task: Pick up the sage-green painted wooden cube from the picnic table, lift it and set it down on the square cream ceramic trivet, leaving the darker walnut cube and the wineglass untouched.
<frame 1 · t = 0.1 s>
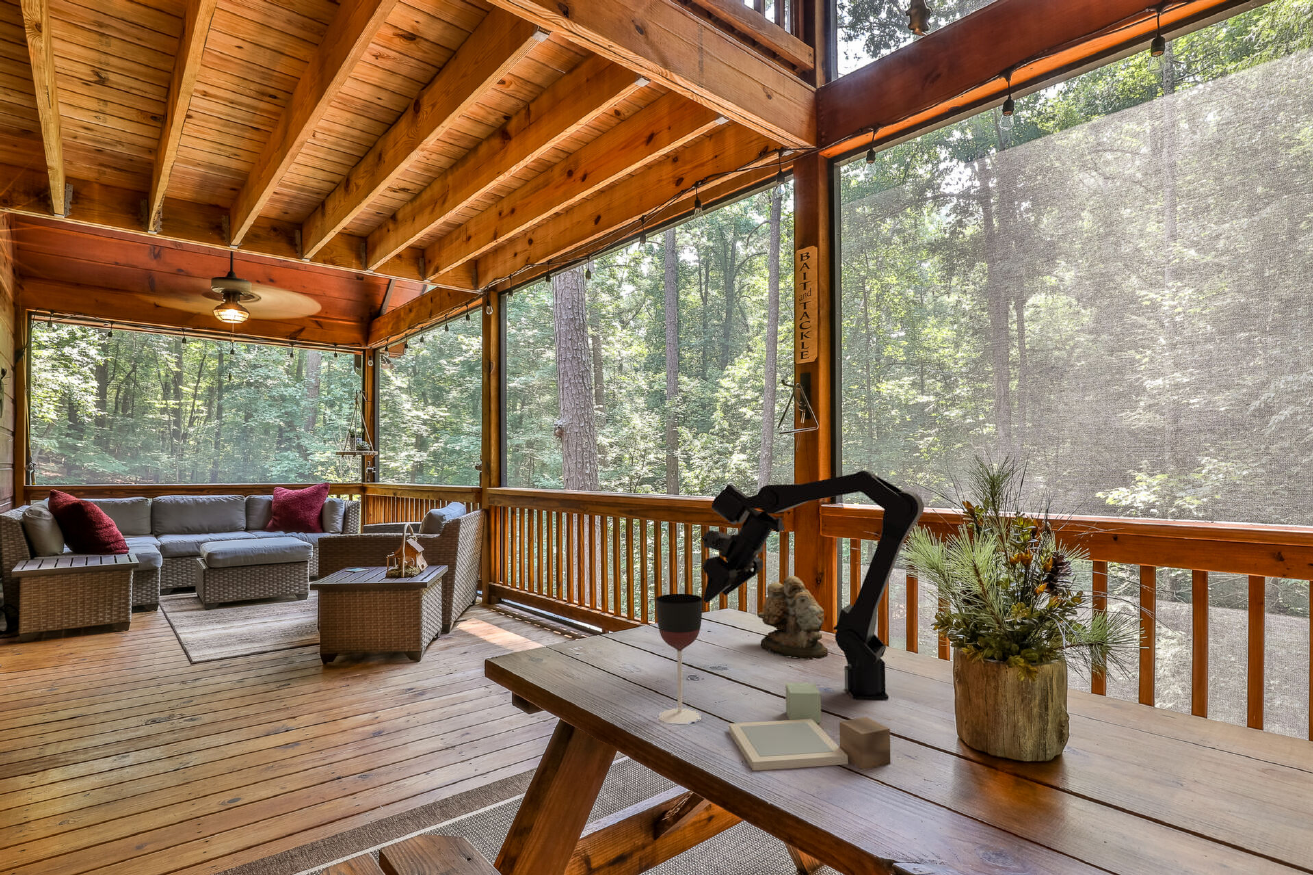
hand: (714, 597, 141), 15 cm above the table, tool tilted 35°, fingers open, 9 cm apart
wineglass: (679, 717, 113), on the table
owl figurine: (791, 650, 154), on the table
sage cube: (803, 718, 113), on the table
trivet: (784, 746, 101), on the table
walnut cube: (864, 760, 97), on the table
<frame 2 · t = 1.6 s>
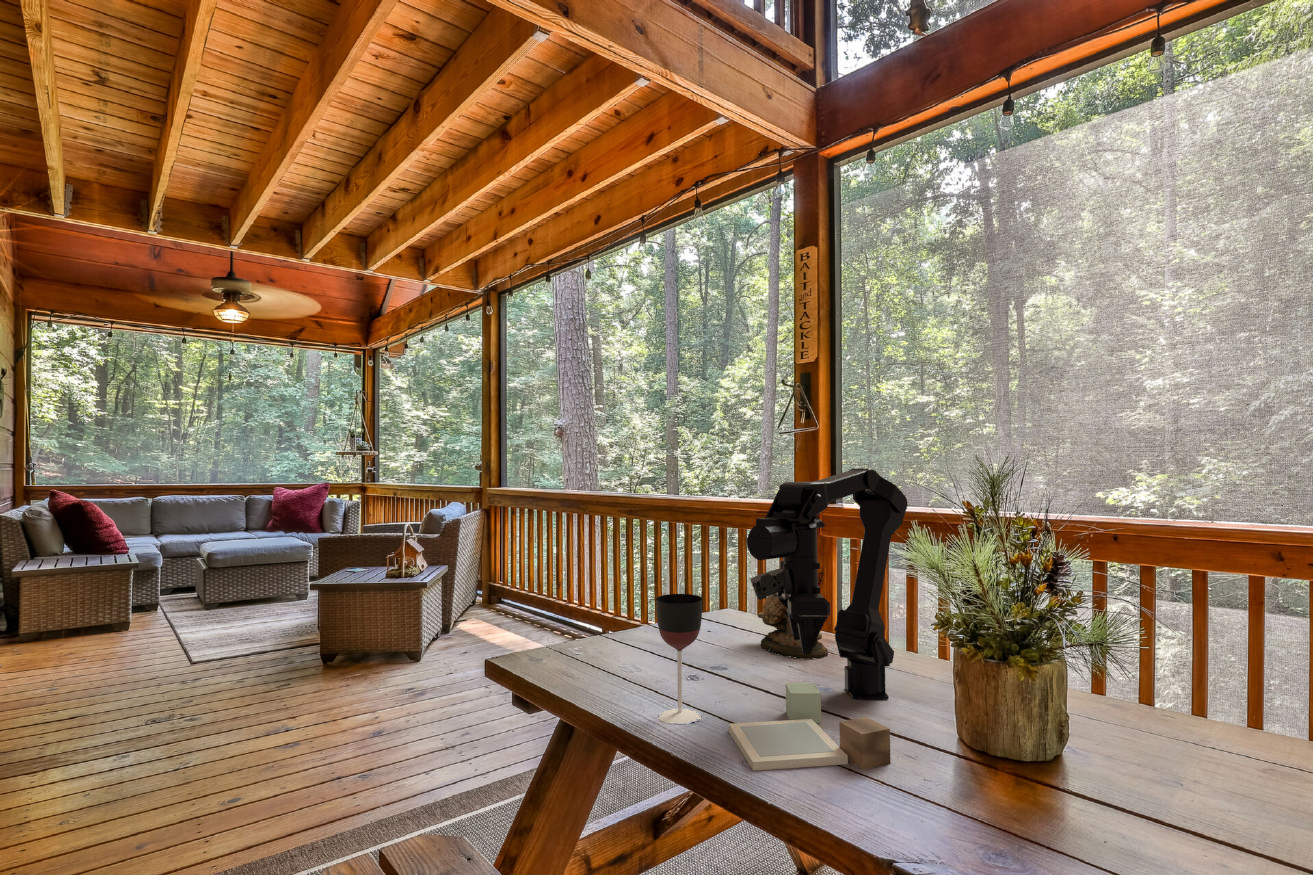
hand: (801, 646, 113), 12 cm above the table, tool pointing down, fingers open, 9 cm apart
nothing on the table moved.
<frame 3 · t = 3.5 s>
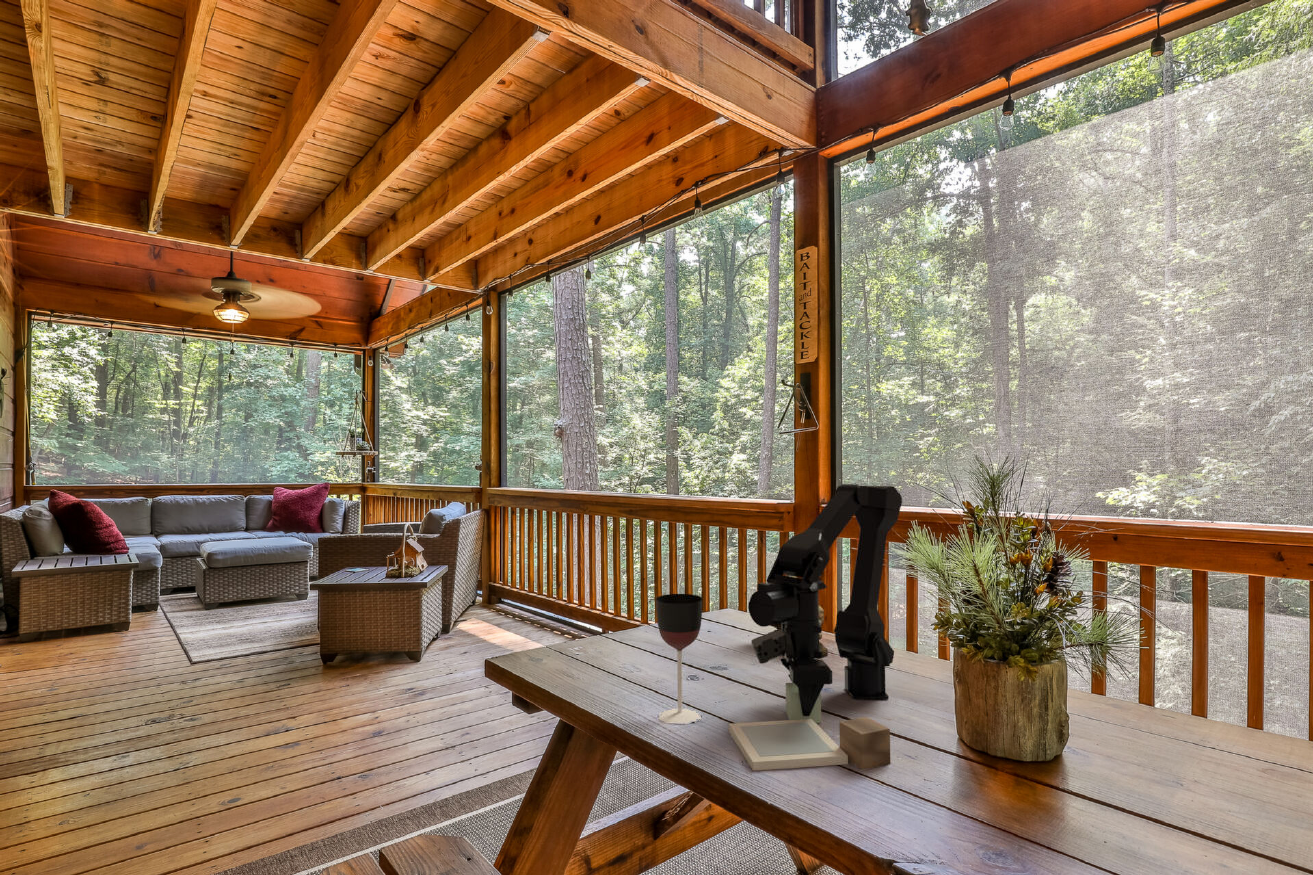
hand: (803, 710, 113), 1 cm above the table, tool pointing down, fingers closed on sage cube, 5 cm apart
sage cube: (803, 717, 113), on the table, touching gripper
everything else where it was.
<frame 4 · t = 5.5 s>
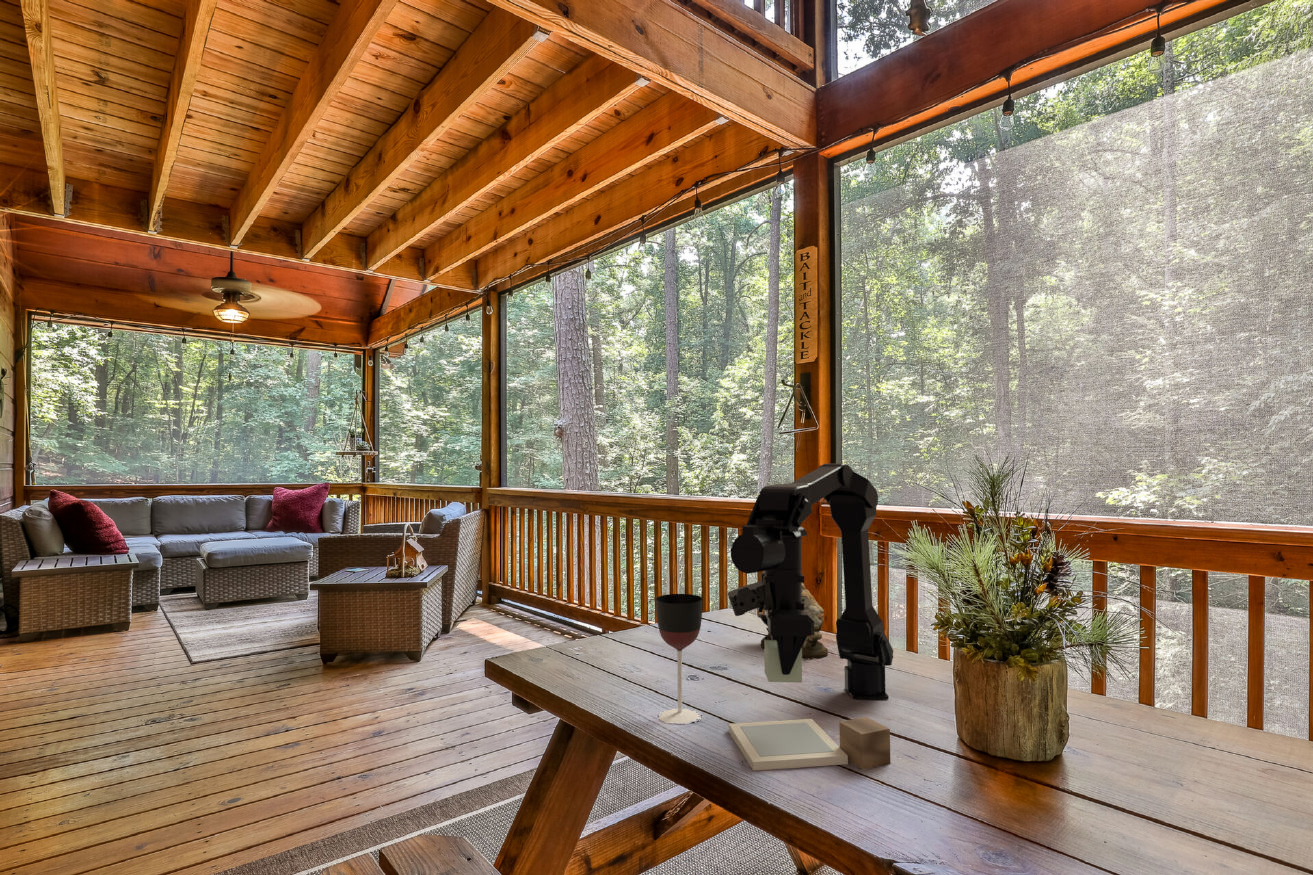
hand: (783, 669, 102), 12 cm above the table, tool pointing down, fingers closed on sage cube, 5 cm apart
sage cube: (782, 677, 102), point 10 cm above the table, touching gripper
everything else where it was.
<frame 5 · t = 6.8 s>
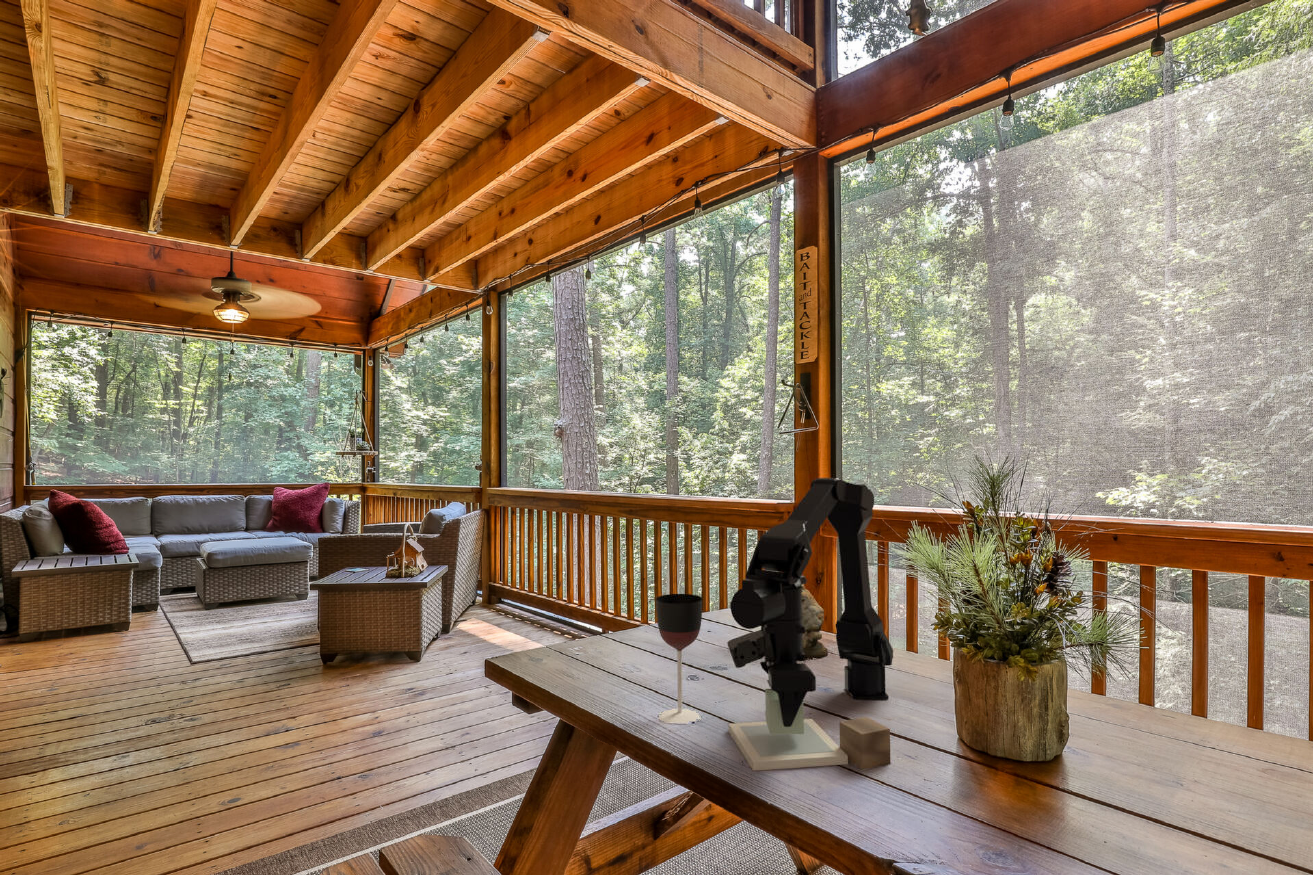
hand: (784, 719, 101), 4 cm above the table, tool pointing down, fingers closed on sage cube, 5 cm apart
sage cube: (784, 727, 101), point 3 cm above the table, touching gripper
everything else where it was.
when the fingers open (3 cm above the table, at t = 7.8 s): sage cube stays where it is, resting on trivet.
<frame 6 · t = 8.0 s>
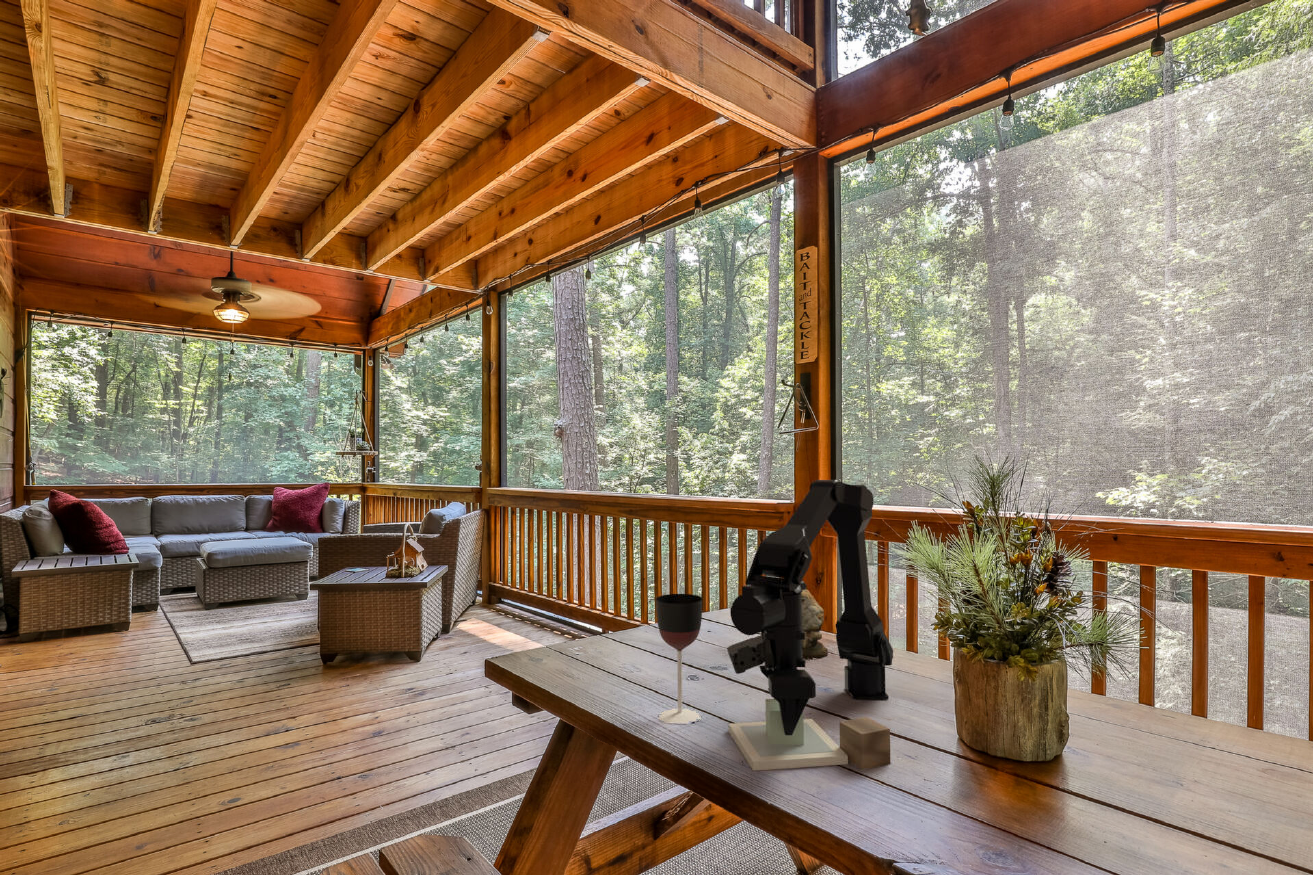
hand: (784, 725, 101), 3 cm above the table, tool pointing down, fingers open, 7 cm apart
sage cube: (784, 738, 101), point 1 cm above the table, touching trivet
everything else where it was.
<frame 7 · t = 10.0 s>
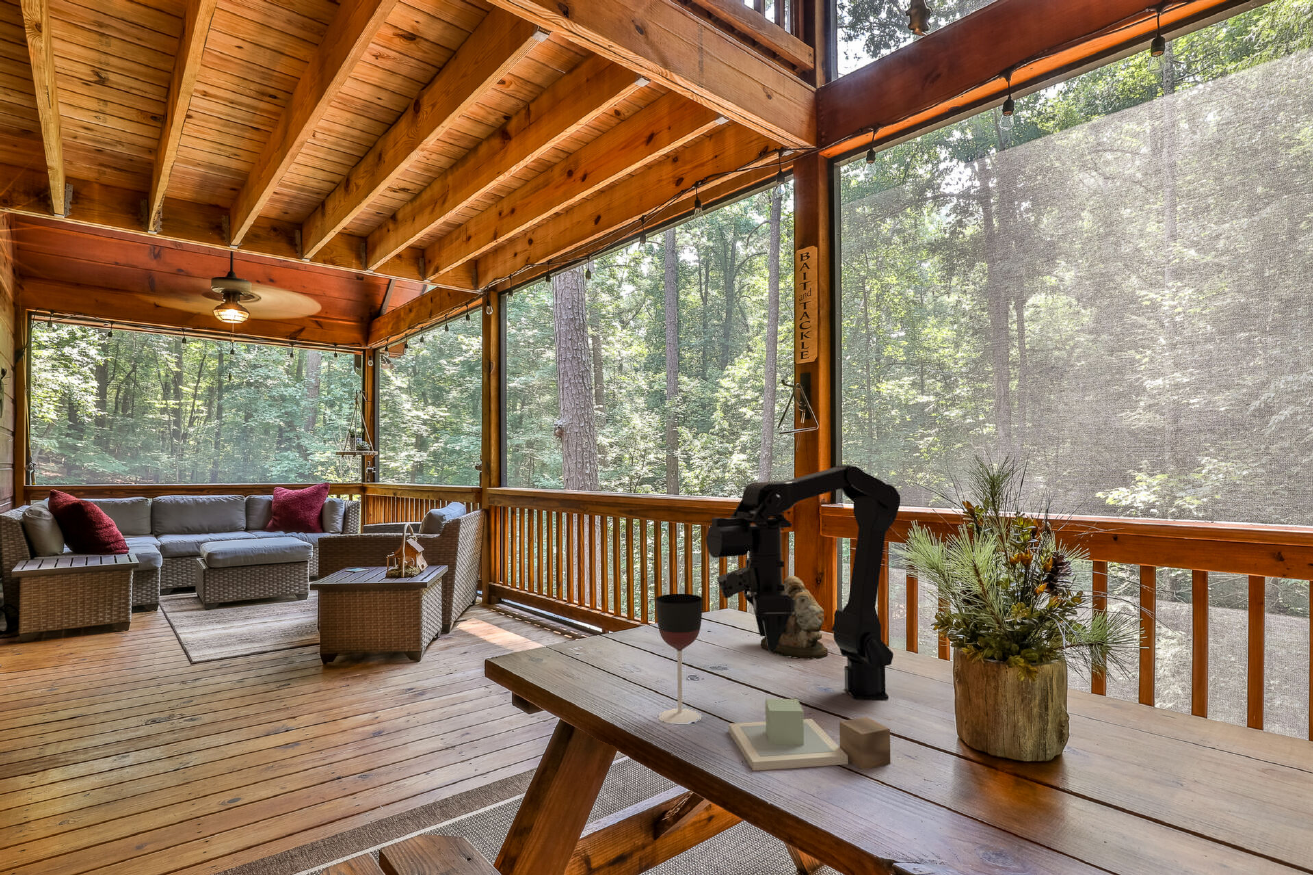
hand: (767, 643, 116), 12 cm above the table, tool pointing down, fingers open, 9 cm apart
nothing on the table moved.
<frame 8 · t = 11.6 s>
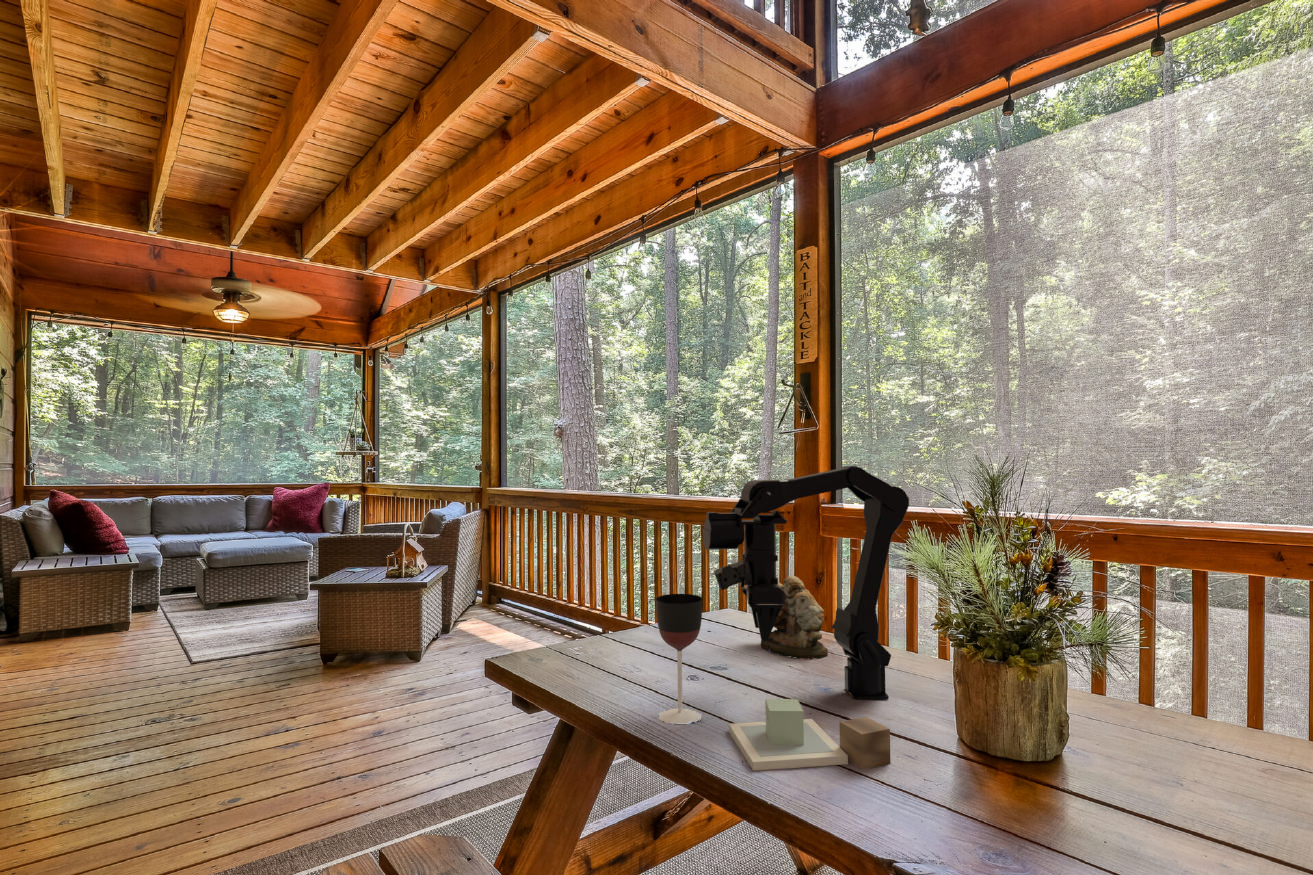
hand: (761, 634, 121), 12 cm above the table, tool pointing down, fingers open, 9 cm apart
nothing on the table moved.
at the end: sage cube inside the target area on the trivet (0.0 cm from its centre), point 1.3 cm above the trivet's base; sage cube tilted 0°; walnut cube moved 0.1 cm from its start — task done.
